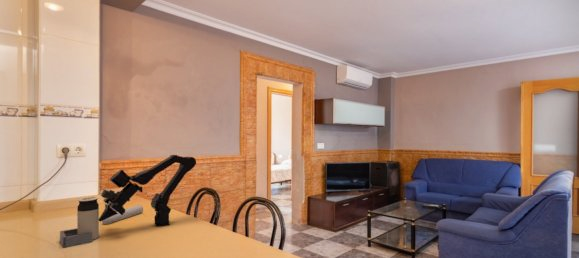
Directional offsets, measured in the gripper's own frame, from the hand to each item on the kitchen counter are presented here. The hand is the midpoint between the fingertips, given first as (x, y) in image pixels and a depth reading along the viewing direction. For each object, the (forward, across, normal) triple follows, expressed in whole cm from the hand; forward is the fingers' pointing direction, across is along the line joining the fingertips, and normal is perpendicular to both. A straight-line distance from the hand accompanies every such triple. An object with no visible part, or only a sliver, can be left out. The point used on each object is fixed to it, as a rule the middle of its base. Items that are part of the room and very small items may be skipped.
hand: (99, 220), depth 139 cm
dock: (+11, 0, -1) cm, 11 cm away
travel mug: (+8, 0, +2) cm, 8 cm away
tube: (-6, -27, +16) cm, 32 cm away
